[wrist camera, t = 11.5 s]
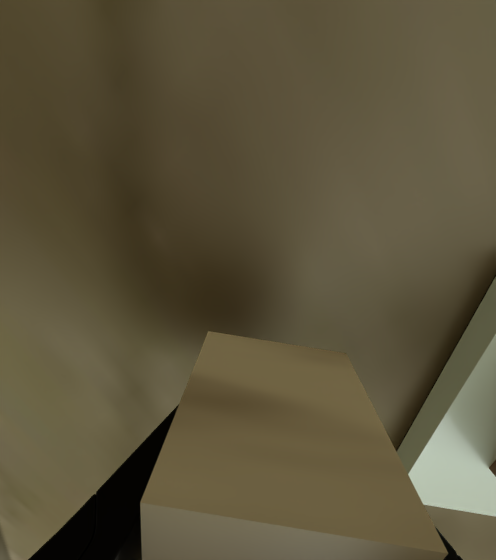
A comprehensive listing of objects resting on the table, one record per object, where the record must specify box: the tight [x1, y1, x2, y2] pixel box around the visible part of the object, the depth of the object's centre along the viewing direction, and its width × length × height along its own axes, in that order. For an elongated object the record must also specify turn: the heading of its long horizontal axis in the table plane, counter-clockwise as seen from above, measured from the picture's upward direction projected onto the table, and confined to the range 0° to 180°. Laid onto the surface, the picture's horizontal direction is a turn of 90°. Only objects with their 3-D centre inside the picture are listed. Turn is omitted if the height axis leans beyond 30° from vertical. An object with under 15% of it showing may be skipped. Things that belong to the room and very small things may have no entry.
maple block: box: [140, 331, 448, 560], centre depth 7 cm, size 5×5×5 cm
